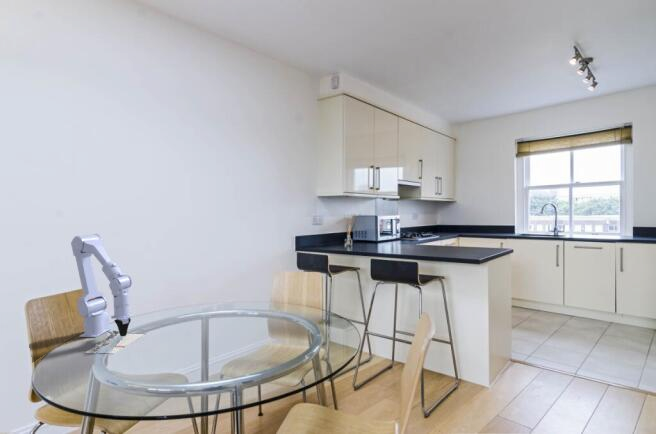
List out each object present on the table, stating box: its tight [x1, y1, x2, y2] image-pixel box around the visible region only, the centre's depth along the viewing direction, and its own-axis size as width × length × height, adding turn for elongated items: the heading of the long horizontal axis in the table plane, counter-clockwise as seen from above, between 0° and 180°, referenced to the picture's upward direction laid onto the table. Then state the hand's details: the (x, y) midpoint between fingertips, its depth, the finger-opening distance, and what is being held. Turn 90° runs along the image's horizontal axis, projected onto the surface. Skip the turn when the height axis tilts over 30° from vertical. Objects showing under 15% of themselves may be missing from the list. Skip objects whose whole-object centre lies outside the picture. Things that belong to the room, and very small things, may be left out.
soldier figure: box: [91, 330, 119, 351], centre depth 142 cm, size 8×5×12 cm
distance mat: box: [84, 332, 147, 355], centre depth 145 cm, size 20×12×1 cm, turn 174°
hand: (123, 335), depth 148 cm, fingers closed
